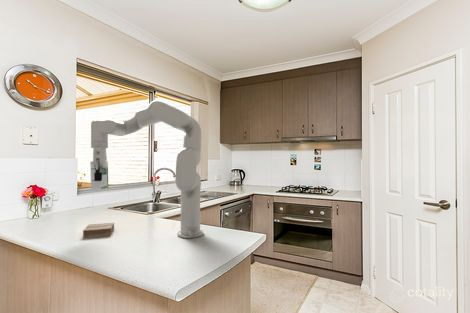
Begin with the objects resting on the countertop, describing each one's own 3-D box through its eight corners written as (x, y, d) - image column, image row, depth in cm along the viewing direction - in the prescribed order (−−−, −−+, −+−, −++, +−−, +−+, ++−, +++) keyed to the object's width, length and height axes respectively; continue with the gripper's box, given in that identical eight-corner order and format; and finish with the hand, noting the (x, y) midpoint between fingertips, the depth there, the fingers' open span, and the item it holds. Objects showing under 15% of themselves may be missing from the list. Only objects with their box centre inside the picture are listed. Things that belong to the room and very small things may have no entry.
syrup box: (100, 190, 127) (100, 161, 127) (90, 190, 128) (90, 161, 128) (108, 189, 132) (108, 160, 133) (98, 189, 134) (98, 160, 134)
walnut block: (111, 236, 126) (111, 228, 126) (83, 239, 123) (83, 230, 123) (114, 230, 138) (114, 222, 138) (88, 232, 134) (88, 224, 134)
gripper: (105, 144, 123) (105, 181, 123) (110, 146, 140) (110, 178, 140) (87, 144, 121) (87, 181, 121) (94, 145, 138) (94, 179, 137)
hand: (99, 180), depth 130 cm, fingers closed on syrup box, 7 cm apart
